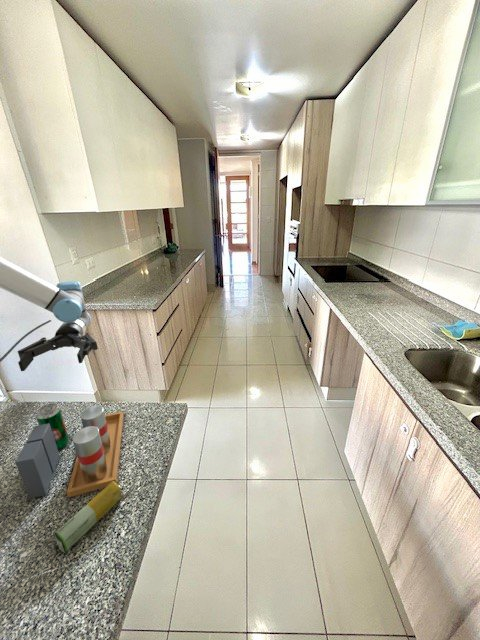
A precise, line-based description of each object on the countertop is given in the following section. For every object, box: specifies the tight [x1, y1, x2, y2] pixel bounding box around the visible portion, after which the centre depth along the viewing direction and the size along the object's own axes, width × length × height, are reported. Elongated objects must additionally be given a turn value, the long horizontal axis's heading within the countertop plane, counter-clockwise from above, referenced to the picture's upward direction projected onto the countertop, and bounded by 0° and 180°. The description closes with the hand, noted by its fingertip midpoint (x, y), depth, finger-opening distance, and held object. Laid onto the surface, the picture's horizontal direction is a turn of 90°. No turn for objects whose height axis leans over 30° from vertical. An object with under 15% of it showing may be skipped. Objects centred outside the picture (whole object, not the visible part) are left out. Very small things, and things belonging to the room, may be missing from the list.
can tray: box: [66, 411, 125, 498], centre depth 68 cm, size 24×10×2 cm, turn 19°
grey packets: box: [15, 423, 60, 500], centre depth 59 cm, size 10×3×11 cm, turn 19°
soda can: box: [35, 402, 70, 451], centre depth 67 cm, size 5×5×12 cm
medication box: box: [53, 481, 123, 554], centre depth 51 cm, size 12×3×4 cm, turn 149°
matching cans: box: [72, 405, 111, 483], centre depth 62 cm, size 13×5×12 cm, turn 19°
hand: (51, 362), depth 71 cm, fingers open, 13 cm apart
